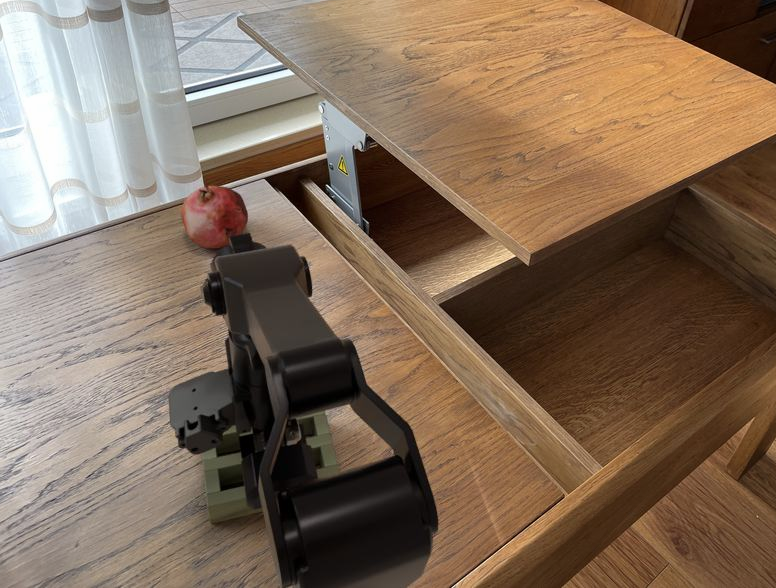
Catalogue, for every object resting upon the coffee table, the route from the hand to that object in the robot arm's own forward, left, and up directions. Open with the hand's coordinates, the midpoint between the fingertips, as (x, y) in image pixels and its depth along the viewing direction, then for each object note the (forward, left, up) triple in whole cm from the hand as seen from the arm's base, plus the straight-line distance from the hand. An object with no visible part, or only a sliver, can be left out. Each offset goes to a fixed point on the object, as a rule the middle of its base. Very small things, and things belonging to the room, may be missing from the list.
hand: (271, 456), depth 74 cm
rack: (+2, 0, -5) cm, 6 cm away
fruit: (+42, +2, -6) cm, 42 cm away
